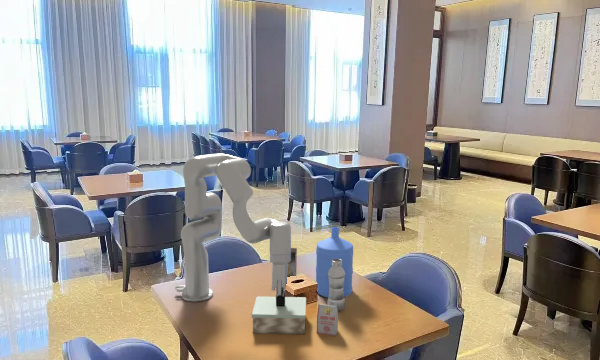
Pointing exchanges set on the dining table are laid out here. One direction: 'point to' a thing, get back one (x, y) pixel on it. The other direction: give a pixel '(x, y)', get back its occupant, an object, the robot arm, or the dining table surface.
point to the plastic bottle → (336, 284)
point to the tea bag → (327, 319)
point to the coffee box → (292, 263)
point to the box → (279, 325)
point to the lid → (279, 308)
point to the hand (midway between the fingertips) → (280, 305)
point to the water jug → (325, 255)
